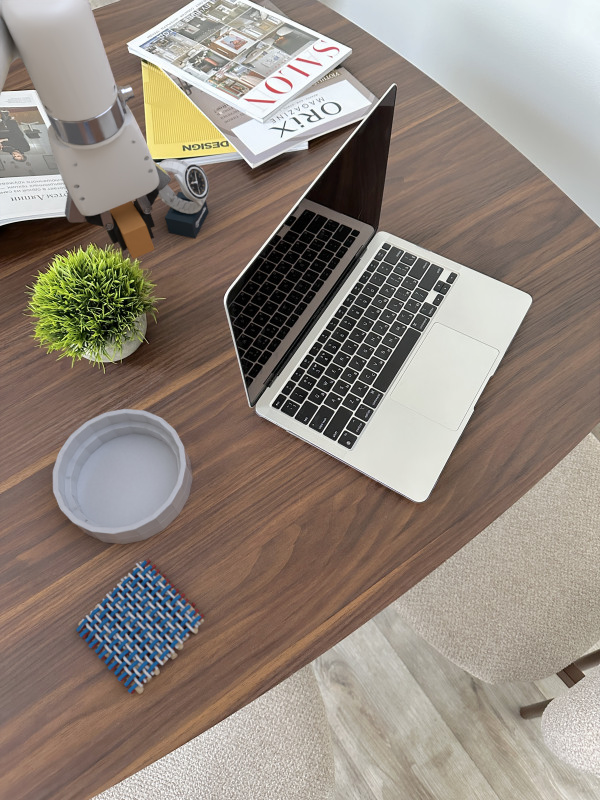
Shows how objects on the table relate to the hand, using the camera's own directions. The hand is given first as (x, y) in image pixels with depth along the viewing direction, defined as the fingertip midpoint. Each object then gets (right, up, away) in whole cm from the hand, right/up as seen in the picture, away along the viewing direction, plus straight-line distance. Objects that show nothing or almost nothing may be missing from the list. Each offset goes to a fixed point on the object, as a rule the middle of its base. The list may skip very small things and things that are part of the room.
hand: (134, 236), depth 81 cm
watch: (+4, +6, +16) cm, 17 cm away
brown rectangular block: (0, 0, 0) cm, 1 cm away
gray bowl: (+1, -31, -4) cm, 32 cm away
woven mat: (+4, -46, -12) cm, 47 cm away
